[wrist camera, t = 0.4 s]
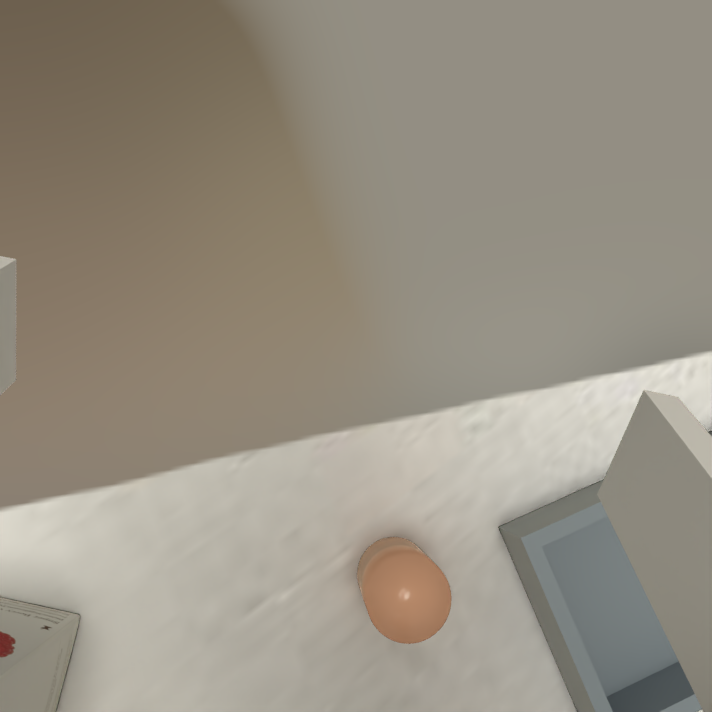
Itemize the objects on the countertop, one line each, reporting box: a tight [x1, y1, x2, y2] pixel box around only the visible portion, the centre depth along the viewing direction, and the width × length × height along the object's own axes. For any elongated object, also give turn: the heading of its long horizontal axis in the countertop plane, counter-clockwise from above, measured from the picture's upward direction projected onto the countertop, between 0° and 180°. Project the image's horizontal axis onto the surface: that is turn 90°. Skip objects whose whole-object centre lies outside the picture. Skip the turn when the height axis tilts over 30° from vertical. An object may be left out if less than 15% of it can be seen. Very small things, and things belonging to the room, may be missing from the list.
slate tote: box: [499, 431, 712, 712], centre depth 46 cm, size 14×18×5 cm
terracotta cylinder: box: [357, 537, 451, 644], centre depth 43 cm, size 5×5×7 cm
